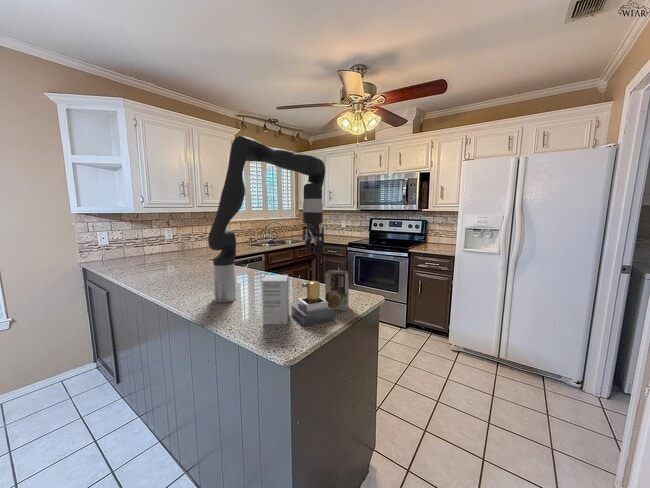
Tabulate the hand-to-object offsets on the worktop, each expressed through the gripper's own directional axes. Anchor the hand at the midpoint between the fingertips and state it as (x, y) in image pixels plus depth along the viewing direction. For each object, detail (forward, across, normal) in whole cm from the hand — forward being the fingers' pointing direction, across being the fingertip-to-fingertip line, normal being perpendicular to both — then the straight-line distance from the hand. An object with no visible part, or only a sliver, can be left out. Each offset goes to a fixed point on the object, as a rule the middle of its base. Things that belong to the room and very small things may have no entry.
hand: (312, 253), depth 105 cm
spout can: (+22, 0, -1) cm, 22 cm away
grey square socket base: (+26, 0, 0) cm, 26 cm away
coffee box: (+26, -5, +14) cm, 30 cm away
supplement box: (+26, -4, -14) cm, 30 cm away
